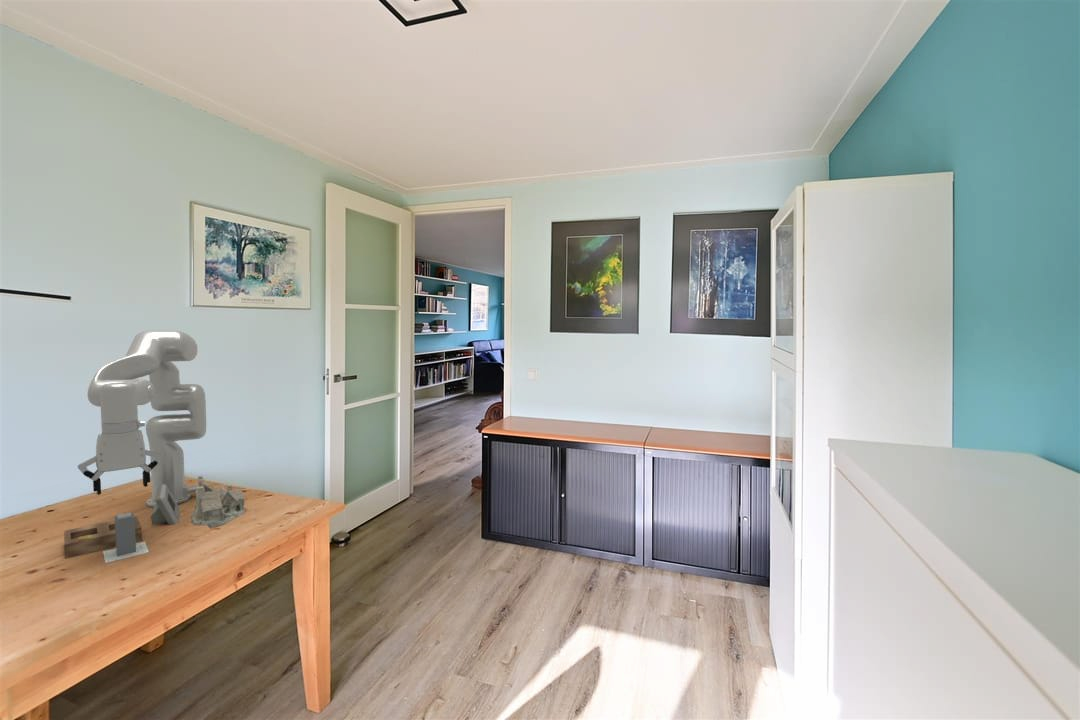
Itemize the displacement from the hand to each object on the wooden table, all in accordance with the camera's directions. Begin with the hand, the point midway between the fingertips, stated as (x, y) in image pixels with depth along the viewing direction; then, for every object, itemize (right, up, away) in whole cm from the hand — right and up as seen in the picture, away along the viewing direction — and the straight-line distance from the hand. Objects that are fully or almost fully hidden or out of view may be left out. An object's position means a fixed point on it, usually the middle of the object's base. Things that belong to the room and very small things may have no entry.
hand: (122, 489), depth 132 cm
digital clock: (-7, -18, +26) cm, 32 cm away
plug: (0, -18, +2) cm, 18 cm away
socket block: (-12, -18, +7) cm, 23 cm away
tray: (0, -19, +2) cm, 19 cm away
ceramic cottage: (+7, -18, +28) cm, 34 cm away
